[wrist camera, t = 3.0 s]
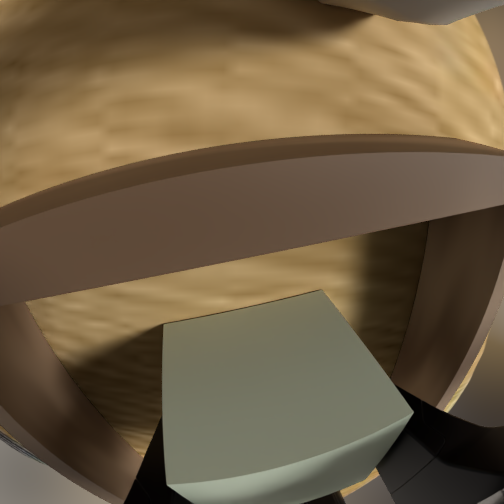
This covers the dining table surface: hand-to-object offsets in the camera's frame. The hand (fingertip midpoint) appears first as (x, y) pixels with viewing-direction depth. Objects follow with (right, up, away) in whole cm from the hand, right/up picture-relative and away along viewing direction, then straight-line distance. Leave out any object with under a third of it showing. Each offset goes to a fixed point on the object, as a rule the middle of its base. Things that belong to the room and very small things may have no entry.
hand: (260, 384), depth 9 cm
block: (0, 0, +1) cm, 1 cm away
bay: (0, 0, +1) cm, 1 cm away
